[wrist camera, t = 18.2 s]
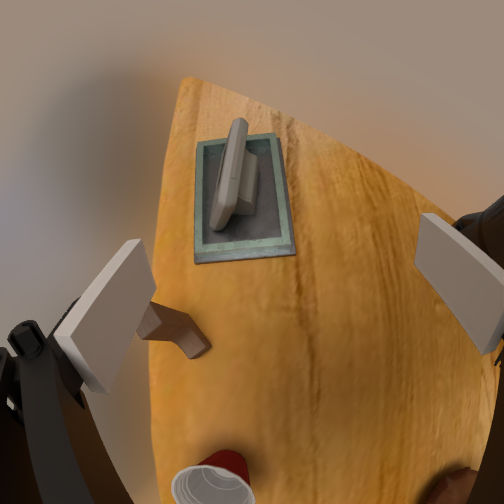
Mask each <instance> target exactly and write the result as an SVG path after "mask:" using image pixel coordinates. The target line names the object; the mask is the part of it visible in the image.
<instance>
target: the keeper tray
mask: <svg viewBox="0 0 504 504" xmlns="http://www.w3.org/2000/svg"><path fill="white" fill-rule="evenodd" d="M226 141H227V138H222V139H215V140H209V141H202V142H197V148H196V171H195V206H194V263H195V264H196V265H197V264H208V263H219V262H231V261H242V260H253V259H264V258H275V257H286V256H295V255H296V251H295V243H294V235H293V227H292V219H291V211H290V204H289V197H288V189H287V182H286V176H285V169H284V162H283V156H282V149H281V143H280V138H276V133H266V134H256V135H247V139H246V145H245V149H246V150H247V151H248V152H250V153H251V154H253V155H256V156H257V157H258V161H259V169H260V172H259V181H258V189H257V198H256V207H255V214H254V215H239V214H231V216H230V218H229V220H228V222H227V224H226V226H225V228H223V229H222V230H220V231H213V229H212V228H211V227H210V226H209V223H210V216H211V210H212V205H213V199H214V194H215V188H216V183H217V178H218V173H219V167H220V162H221V157H222V153H223V150H224V147H225V144H226Z"/></svg>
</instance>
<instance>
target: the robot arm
mask: <svg viewBox="0 0 504 504" xmlns="http://www.w3.org/2000/svg"><path fill="white" fill-rule="evenodd" d="M414 265H415V266H416V267H417V268H418V270H419V271H420V272H421V273H422V274H423V276H424V277H425V278H426V279H427V281H428V282H429V283H430V284H431V285H432V287H433V288H434V289H435V291H436V292H437V293H438V294H439V296H440V297H441V298H442V300H443V301H444V302H445V303H446V305H447V306H448V307H449V309H450V310H451V311H452V313H453V314H454V316H455V317H456V318H457V320H458V321H459V322H460V324H461V325H462V327H463V328H464V330H465V331H466V332H467V334H468V335H469V337H470V338H471V340H472V341H473V343H474V344H475V346H476V347H477V349H478V350H479V352H480V353H481V355H484V354H487V353H489V352H492V351H494V350H495V349H496V347H497V346H498V344H499V342H500V340H501V338H502V339H503V340H504V195H503V196H502V197H501V198H499V199H498V200H497V201H496V202H495V203H493V204H492V205H491V206H490V207H488V208H487V209H486V210H485V211H483V212H478V213H473V214H468V215H465V216H463V217H461V218H460V219H458V220H457V221H456V222H455V223H454V224H453V225H452V226H451V225H449V224H448V223H447V222H445V221H444V220H443V219H441V218H440V217H439V216H437V215H436V214H434V213H421V219H420V227H419V235H418V242H417V249H416V255H415V261H414ZM156 289H157V287H156V284H155V281H154V278H153V275H152V272H151V269H150V265H149V262H148V259H147V255H146V252H145V248H144V245H143V241H142V239H134V240H128V241H127V242H126V243H125V244H124V245H123V246H122V247H121V248H120V250H119V251H118V252H117V253H116V254H115V256H114V257H113V258H112V259H111V260H110V261H109V263H108V264H107V265H106V266H105V267H104V269H103V270H102V271H101V272H100V273H99V275H98V276H97V277H96V278H95V280H94V281H93V282H92V283H91V285H90V286H89V287H88V288H87V290H86V291H85V292H84V293H83V295H82V296H80V297H79V298H78V299H77V300H75V301H74V302H73V303H72V304H71V306H70V307H69V308H68V310H67V312H66V313H65V314H64V315H63V317H62V319H60V321H59V322H58V323H57V325H56V326H55V328H54V329H53V330H52V332H51V333H50V334H49V336H48V337H47V339H46V338H45V336H44V335H43V333H42V331H41V330H40V328H39V326H38V324H37V323H36V321H34V320H27V321H24V322H22V323H20V324H19V325H17V326H16V327H15V328H14V329H13V330H12V331H11V332H10V334H9V336H8V339H7V340H8V342H9V343H10V345H11V346H12V348H13V349H14V351H15V352H16V354H17V355H18V356H16V357H12V356H11V355H10V353H9V352H8V351H7V349H6V348H4V347H0V504H134V503H133V501H132V499H131V498H130V496H129V494H128V492H127V491H126V489H125V487H124V485H123V483H122V482H121V480H120V478H119V476H118V474H117V472H116V470H115V468H114V466H113V464H112V462H111V460H110V457H109V455H108V453H107V451H106V449H105V447H104V445H103V442H102V440H101V438H100V435H99V432H98V430H97V428H96V425H95V422H94V420H93V417H92V415H91V412H90V409H89V406H88V403H87V401H86V398H85V395H84V393H83V392H82V391H81V389H80V388H81V385H82V384H83V381H84V382H85V384H86V385H87V386H88V388H89V389H90V390H91V391H92V392H96V393H103V394H109V391H110V389H111V387H112V384H113V382H114V379H115V377H116V375H117V372H118V370H119V368H120V365H121V363H122V361H123V358H124V356H125V354H126V352H127V350H128V347H129V345H130V343H131V341H132V338H133V336H134V334H135V332H136V330H137V328H138V326H139V324H140V321H141V319H142V317H143V315H144V313H145V311H146V309H147V307H148V305H149V303H150V301H151V299H152V297H153V295H154V293H155V291H156ZM500 360H501V364H500V366H499V367H500V378H499V386H498V393H497V399H496V405H495V410H494V415H493V420H492V425H491V429H490V433H489V437H488V441H487V445H486V449H485V452H484V455H483V459H482V462H481V465H480V468H479V471H478V474H477V477H476V480H475V482H474V485H473V488H472V490H471V493H470V495H469V498H468V500H467V502H466V504H504V347H503V349H502V351H501V352H500V354H499V356H498V358H497V359H496V361H495V364H494V366H496V365H497V364H498V362H499V361H500ZM7 397H8V398H9V399H10V400H11V402H12V403H13V404H14V409H13V410H12V409H11V408H10V407H9V406H8V405H7Z"/></svg>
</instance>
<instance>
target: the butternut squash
mask: <svg viewBox="0 0 504 504" xmlns="http://www.w3.org/2000/svg"><path fill="white" fill-rule="evenodd" d="M477 474H478V471H475V470H471V468H470V467H465V468H463V469H460V470H458V471H455V472H453V473H451V474H449V475H447V476H445V477H443V478H442V479H441V480H440V481H439V482H438V483H437V485H436V486H435V488H434V489H433V490H432V492H431V493H430V495H429V497H428V499H427V501H426V503H425V504H466V502H467V500H468V498H469V495H470V493H471V490H472V488H473V485H474V482H475V480H476V477H477Z"/></svg>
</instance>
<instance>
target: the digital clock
mask: <svg viewBox="0 0 504 504" xmlns="http://www.w3.org/2000/svg"><path fill="white" fill-rule="evenodd" d="M247 132H248V123H247V121H246V120H245V119H243V118H238V119H235V120H233V123H232V126H231V128H230V131H229V135H228V138H227V141H226V144H225V147H224V150H223V153H222V157H221V162H220V167H219V173H218V178H217V183H216V188H215V194H214V199H213V205H212V210H211V216H210V223H209V226H210V227H211V228H212V229H213V231H220V230H222V229H223V228H225V226H226V224H227V222H228V220H229V218H230V216H231V214H239V215H254V214H255V207H256V198H257V189H258V181H259V172H260V169H259V161H258V157H257V156H256V155H253V154H251V153H250V152H248V151H247V150H246V149H245V145H246V139H247Z"/></svg>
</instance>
